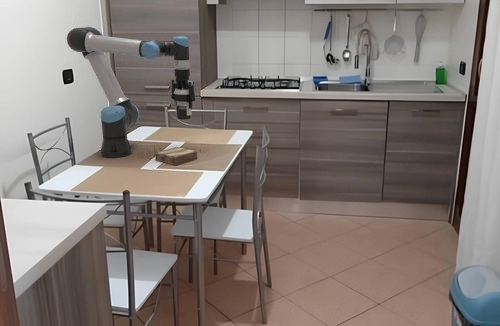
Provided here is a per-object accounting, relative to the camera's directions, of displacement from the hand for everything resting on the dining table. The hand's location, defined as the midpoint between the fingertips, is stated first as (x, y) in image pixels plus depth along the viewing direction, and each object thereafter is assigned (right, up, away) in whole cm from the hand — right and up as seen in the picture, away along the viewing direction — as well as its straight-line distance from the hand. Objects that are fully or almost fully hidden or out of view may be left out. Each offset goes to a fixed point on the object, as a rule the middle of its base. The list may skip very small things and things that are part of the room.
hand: (183, 114), depth 249 cm
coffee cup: (0, -2, +1) cm, 2 cm away
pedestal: (-2, -23, -13) cm, 27 cm away
